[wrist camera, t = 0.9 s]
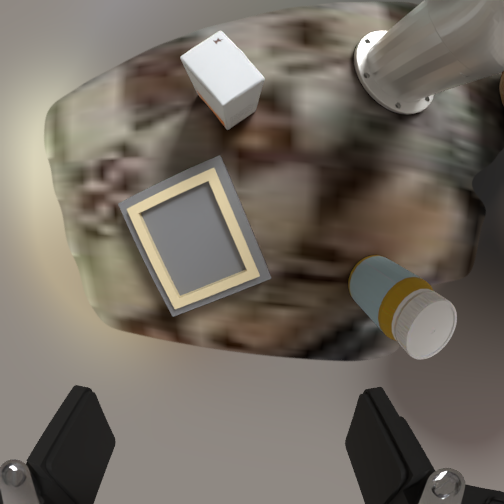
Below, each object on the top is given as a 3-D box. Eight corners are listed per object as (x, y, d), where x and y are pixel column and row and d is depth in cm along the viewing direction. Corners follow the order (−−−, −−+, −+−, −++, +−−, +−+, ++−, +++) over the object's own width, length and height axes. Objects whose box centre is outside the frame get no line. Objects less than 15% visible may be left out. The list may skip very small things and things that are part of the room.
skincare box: (196, 95, 30) (177, 55, 19) (226, 74, 30) (221, 27, 18) (227, 132, 31) (222, 107, 20) (257, 111, 31) (267, 77, 19)
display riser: (222, 158, 32) (219, 154, 27) (267, 267, 35) (272, 280, 31) (130, 201, 33) (115, 204, 28) (179, 303, 36) (171, 319, 31)
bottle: (376, 242, 35) (447, 279, 21) (400, 279, 37) (467, 326, 22) (336, 278, 36) (390, 335, 22) (363, 313, 38) (417, 375, 23)
